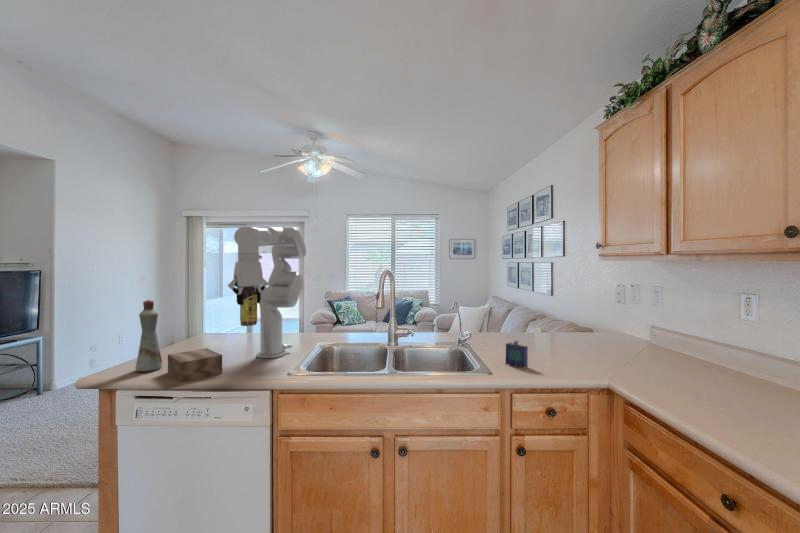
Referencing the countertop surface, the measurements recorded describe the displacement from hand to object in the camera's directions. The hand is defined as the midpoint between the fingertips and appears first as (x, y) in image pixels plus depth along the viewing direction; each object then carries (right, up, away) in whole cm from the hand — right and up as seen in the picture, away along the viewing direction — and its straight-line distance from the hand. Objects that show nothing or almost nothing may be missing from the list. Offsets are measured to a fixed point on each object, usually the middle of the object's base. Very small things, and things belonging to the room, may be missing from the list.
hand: (248, 303), depth 138 cm
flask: (+109, -27, +8) cm, 112 cm away
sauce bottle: (0, -9, 0) cm, 9 cm away
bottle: (-40, -27, +1) cm, 49 cm away
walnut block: (-20, -27, -3) cm, 33 cm away
